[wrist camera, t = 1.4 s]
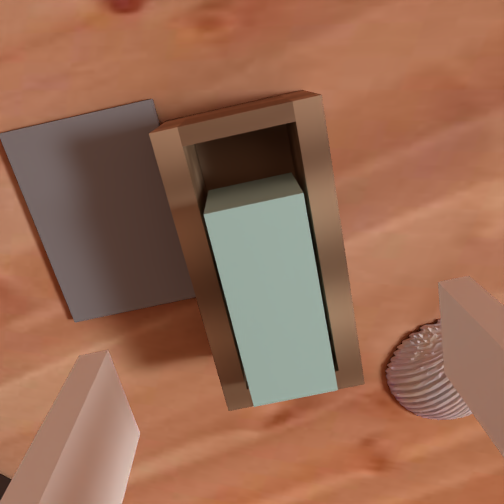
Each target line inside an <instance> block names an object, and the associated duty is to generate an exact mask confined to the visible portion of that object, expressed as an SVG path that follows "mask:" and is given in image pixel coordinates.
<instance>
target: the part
mask: <svg viewBox="0 0 504 504" xmlns="http://www.w3.org/2000/svg"><path fill="white" fill-rule="evenodd" d="M204 218H205V222H206V226H207V229H208V233H209V237H210V241H211V245H212V248H213V252H214V256H215V260H216V264H217V268H218V271H219V275H220V279H221V283H222V287H223V290H224V294H225V298H226V302H227V306H228V310H229V313H230V317H231V321H232V325H233V329H234V333H235V336H236V340H237V344H238V348H239V352H240V355H241V359H242V363H243V367H244V371H245V375H246V378H247V382H248V386H249V390H250V394H251V397H252V401H253V405H254V407H255V406H260V405H265V404H270V403H275V402H280V401H286V400H291V399H296V398H301V397H306V396H311V395H316V394H321V393H326V392H331V391H336V390H338V387H337V382H336V376H335V370H334V364H333V359H332V353H331V347H330V342H329V336H328V330H327V325H326V319H325V313H324V307H323V302H322V296H321V290H320V285H319V279H318V273H317V268H316V262H315V256H314V250H313V245H312V239H311V233H310V228H309V222H308V216H307V211H306V205H305V199H304V193H303V191H302V190H301V188H300V186H299V185H298V183H297V181H296V179H295V178H294V176H293V174H292V173H286V174H281V175H277V176H272V177H268V178H263V179H259V180H254V181H249V182H245V183H240V184H236V185H231V186H227V187H222V188H217V189H213V190H209V191H208V196H207V201H206V205H205V210H204Z"/></svg>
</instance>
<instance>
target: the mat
mask: <svg viewBox="0 0 504 504" xmlns="http://www.w3.org/2000/svg"><path fill="white" fill-rule="evenodd" d="M159 126H160V124H159V120H158V117H157V113H156V109H155V106H154V102H153V99H149V100H145V101H140V102H136V103H132V104H127V105H123V106H118V107H114V108H110V109H105V110H101V111H97V112H92V113H88V114H83V115H79V116H75V117H70V118H66V119H61V120H57V121H53V122H48V123H44V124H39V125H35V126H31V127H26V128H22V129H18V130H13V131H9V132H4V133H0V139H1V142H2V144H3V147H4V149H5V152H6V154H7V157H8V159H9V162H10V164H11V166H12V169H13V171H14V174H15V176H16V179H17V181H18V184H19V186H20V189H21V191H22V194H23V196H24V199H25V201H26V203H27V206H28V208H29V211H30V213H31V216H32V218H33V221H34V223H35V226H36V228H37V231H38V233H39V236H40V238H41V240H42V243H43V245H44V248H45V250H46V253H47V255H48V258H49V260H50V263H51V265H52V268H53V270H54V273H55V275H56V277H57V280H58V282H59V285H60V287H61V290H62V292H63V295H64V297H65V300H66V302H67V305H68V307H69V310H70V312H71V314H72V317H73V319H74V322H79V321H84V320H89V319H94V318H99V317H103V316H108V315H113V314H118V313H122V312H127V311H132V310H137V309H142V308H146V307H151V306H156V305H161V304H165V303H170V302H175V301H180V300H185V299H189V298H194V297H196V296H195V292H194V289H193V285H192V282H191V278H190V275H189V271H188V268H187V264H186V261H185V258H184V254H183V251H182V247H181V244H180V240H179V237H178V233H177V230H176V226H175V223H174V219H173V216H172V212H171V209H170V205H169V202H168V198H167V195H166V192H165V188H164V185H163V181H162V178H161V174H160V171H159V167H158V164H157V160H156V157H155V153H154V150H153V146H152V143H151V139H150V136H149V133H150V132H152V131H153V130H155V129H156V128H157V127H159Z"/></svg>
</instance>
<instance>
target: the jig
mask: <svg viewBox="0 0 504 504" xmlns="http://www.w3.org/2000/svg"><path fill="white" fill-rule="evenodd" d="M149 136H150V139H151V143H152V146H153V150H154V153H155V157H156V160H157V164H158V167H159V171H160V174H161V178H162V181H163V185H164V188H165V192H166V195H167V198H168V202H169V205H170V209H171V212H172V216H173V219H174V223H175V226H176V230H177V233H178V237H179V240H180V244H181V247H182V251H183V254H184V258H185V261H186V264H187V268H188V271H189V275H190V278H191V282H192V285H193V289H194V292H195V296H196V299H197V303H198V306H199V310H200V313H201V317H202V320H203V324H204V327H205V330H206V334H207V337H208V341H209V344H210V348H211V351H212V355H213V358H214V362H215V365H216V369H217V372H218V376H219V379H220V383H221V386H222V390H223V393H224V396H225V400H226V403H227V407H228V410H229V411H232V410H237V409H242V408H247V407H252V406H254V405H253V401H252V397H251V394H250V390H249V386H248V382H247V378H246V375H245V371H244V367H243V363H242V359H241V355H240V352H239V348H238V344H237V340H236V336H235V333H234V329H233V325H232V321H231V317H230V313H229V310H228V306H227V302H226V298H225V294H224V290H223V287H222V283H221V279H220V275H219V271H218V268H217V264H216V260H215V256H214V252H213V248H212V245H211V241H210V237H209V233H208V229H207V226H206V222H205V218H204V210H205V205H206V201H207V196H208V191H209V190H213V189H217V188H222V187H227V186H231V185H236V184H240V183H245V182H249V181H254V180H259V179H263V178H268V177H272V176H277V175H281V174H286V173H292V174H293V176H294V178H295V179H296V181H297V183H298V185H299V186H300V188H301V190H302V191H303V193H304V199H305V205H306V211H307V216H308V222H309V228H310V233H311V239H312V245H313V250H314V256H315V262H316V268H317V273H318V279H319V285H320V290H321V296H322V302H323V307H324V313H325V319H326V325H327V330H328V336H329V342H330V347H331V353H332V359H333V364H334V370H335V376H336V382H337V387H338V389H343V388H348V387H353V386H358V385H363V384H365V383H364V376H363V369H362V363H361V356H360V349H359V342H358V336H357V329H356V322H355V316H354V309H353V302H352V295H351V289H350V282H349V275H348V268H347V262H346V255H345V248H344V242H343V235H342V228H341V221H340V215H339V208H338V201H337V194H336V188H335V181H334V174H333V168H332V161H331V154H330V147H329V141H328V134H327V127H326V120H325V114H324V107H323V100H322V95H320V94H316V93H312V92H308V91H304V90H301V91H297V92H292V93H288V94H283V95H279V96H274V97H270V98H265V99H261V100H257V101H252V102H248V103H243V104H239V105H234V106H230V107H226V108H221V109H217V110H212V111H208V112H203V113H199V114H195V115H190V116H186V117H181V118H177V119H172V120H168V121H166V122H164V123H163V124H162V125H160V126H159V127H157V128H156V129H155V130H153V131H152V132H150V133H149Z"/></svg>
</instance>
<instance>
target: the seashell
mask: <svg viewBox="0 0 504 504" xmlns="http://www.w3.org/2000/svg"><path fill="white" fill-rule="evenodd" d="M420 329H421V331H419V332H416V333H412V334H410V335H409V337H410V338H408V339H405V340H403V341H402V344H400V345H399V346H397V348H398V350H396V351H394V352H393V353H394V355H395V356H393V357H392V358H391V359H390V360H391V362H390V363H389V364H387V365H388V366H389V368H387V370H386V372H387V374H386V378H387V379H388V380H387V383H388V385H389V387H390V390H391V393H392V394H393V395H395V398H396V400H398V401H400V402H399V403H400V404H401V405H402V406H404V407H405V408H406V409H407V410H409V411H411V412H413V413H414V414H416V415H417V416H421V417H423V418H428V419H437V420H443V419H445V420H447V419H456V418H462V417H465V416H468V415H470V414H473V413H472V412H471V410H470V409H469V407H468V406H467V405H466V403H465V402H464V400H463V399H462V397H461V396H460V395H459V393H458V392H457V390H456V389H455V388H454V386H453V385H452V383H451V382H450V380H449V379H448V378H447V376H446V375H445V373H444V360H443V346H442V332H441V320H438V321H437V323H436V324H429V325H424V326H422V327H420Z"/></svg>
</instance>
